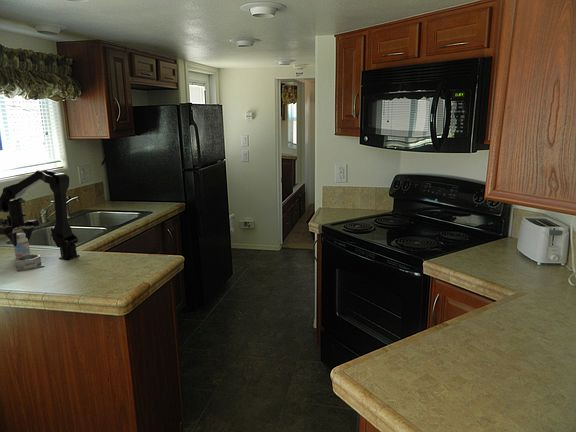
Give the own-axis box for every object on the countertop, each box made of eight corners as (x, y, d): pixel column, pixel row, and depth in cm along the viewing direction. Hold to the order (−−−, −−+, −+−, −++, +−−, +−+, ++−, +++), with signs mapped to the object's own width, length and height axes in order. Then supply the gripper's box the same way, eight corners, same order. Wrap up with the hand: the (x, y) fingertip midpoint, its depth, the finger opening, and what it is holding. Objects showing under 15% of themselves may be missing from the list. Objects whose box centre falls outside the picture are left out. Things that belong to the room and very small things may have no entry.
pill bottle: (13, 257, 203) (9, 234, 201) (25, 254, 208) (22, 231, 206) (20, 259, 200) (16, 236, 198) (33, 255, 206) (29, 233, 203)
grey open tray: (43, 266, 188) (42, 259, 188) (17, 271, 183) (16, 263, 182) (41, 259, 200) (39, 251, 199) (15, 263, 194) (14, 255, 193)
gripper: (20, 208, 211) (25, 238, 214) (-16, 216, 194) (-10, 248, 197) (37, 208, 208) (42, 239, 211) (2, 217, 190) (8, 250, 194)
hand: (21, 244), depth 203 cm, fingers closed on pill bottle, 6 cm apart
